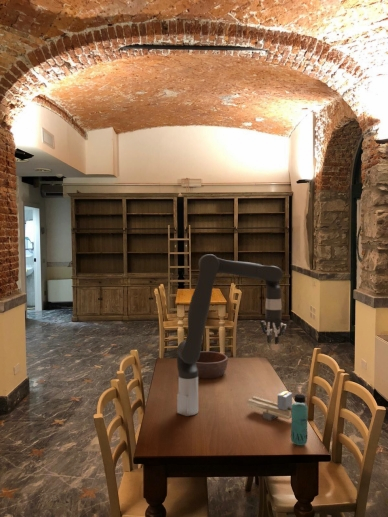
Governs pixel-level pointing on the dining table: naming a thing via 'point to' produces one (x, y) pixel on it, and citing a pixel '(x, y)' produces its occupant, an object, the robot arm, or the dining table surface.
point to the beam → (268, 408)
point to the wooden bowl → (211, 364)
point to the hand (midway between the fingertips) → (273, 343)
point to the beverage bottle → (299, 421)
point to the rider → (284, 400)
